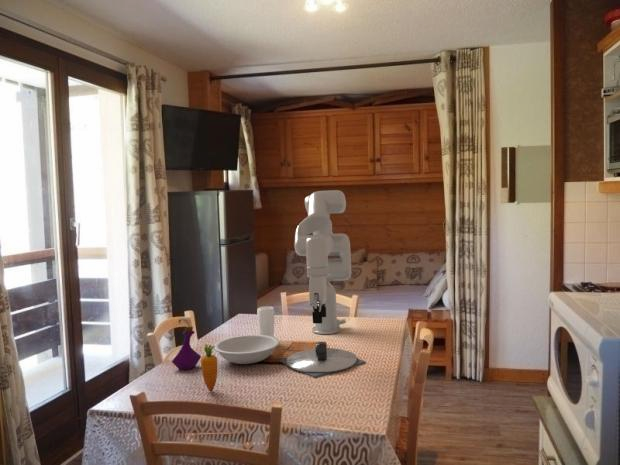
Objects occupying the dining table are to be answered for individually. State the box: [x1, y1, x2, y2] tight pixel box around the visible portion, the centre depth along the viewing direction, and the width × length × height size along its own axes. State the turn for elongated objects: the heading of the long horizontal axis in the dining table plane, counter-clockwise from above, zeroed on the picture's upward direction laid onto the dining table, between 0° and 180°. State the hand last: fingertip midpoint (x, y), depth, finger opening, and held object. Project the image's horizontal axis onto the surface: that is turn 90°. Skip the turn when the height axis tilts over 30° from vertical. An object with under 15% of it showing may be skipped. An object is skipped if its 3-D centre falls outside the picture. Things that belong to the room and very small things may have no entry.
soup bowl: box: [213, 334, 280, 365], centre depth 187 cm, size 24×24×7 cm
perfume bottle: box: [171, 317, 202, 371], centre depth 182 cm, size 8×8×18 cm
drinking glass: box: [256, 306, 275, 337], centre depth 206 cm, size 7×7×15 cm
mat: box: [278, 357, 366, 379], centre depth 182 cm, size 22×22×1 cm
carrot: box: [200, 343, 218, 393], centre depth 158 cm, size 5×5×15 cm
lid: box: [286, 341, 358, 373], centre depth 181 cm, size 25×25×6 cm
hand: (319, 320), depth 180 cm, fingers open, 9 cm apart
